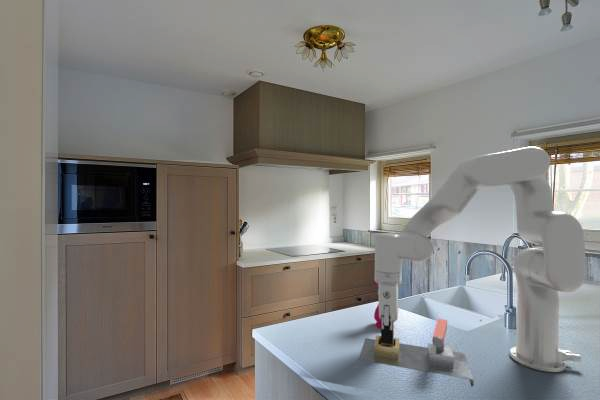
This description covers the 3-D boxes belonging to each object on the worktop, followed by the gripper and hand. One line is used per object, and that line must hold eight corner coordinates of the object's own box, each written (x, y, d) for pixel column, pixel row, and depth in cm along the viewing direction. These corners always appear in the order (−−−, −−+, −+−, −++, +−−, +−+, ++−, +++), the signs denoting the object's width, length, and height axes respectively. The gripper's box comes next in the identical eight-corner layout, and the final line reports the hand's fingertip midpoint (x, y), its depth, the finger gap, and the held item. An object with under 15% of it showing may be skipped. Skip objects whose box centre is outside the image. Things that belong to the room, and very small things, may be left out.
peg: (393, 350, 92) (393, 309, 92) (392, 355, 89) (393, 312, 89) (382, 348, 93) (382, 307, 93) (381, 353, 90) (381, 311, 90)
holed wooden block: (399, 348, 93) (399, 338, 93) (398, 359, 87) (398, 348, 87) (376, 345, 95) (376, 335, 95) (373, 355, 89) (374, 344, 89)
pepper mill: (396, 334, 106) (397, 274, 105) (374, 332, 107) (374, 273, 107) (394, 326, 113) (395, 270, 112) (373, 324, 114) (374, 268, 114)
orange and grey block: (437, 338, 93) (437, 317, 93) (447, 340, 92) (447, 319, 92) (431, 362, 80) (431, 337, 80) (442, 365, 79) (443, 339, 79)
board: (464, 357, 91) (464, 342, 91) (473, 384, 78) (473, 367, 78) (365, 341, 100) (365, 328, 100) (358, 363, 87) (358, 348, 87)
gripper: (401, 285, 82) (400, 355, 82) (402, 271, 98) (401, 330, 98) (371, 282, 84) (370, 351, 85) (377, 269, 100) (376, 327, 100)
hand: (387, 339), depth 91 cm, fingers closed on peg, 3 cm apart
